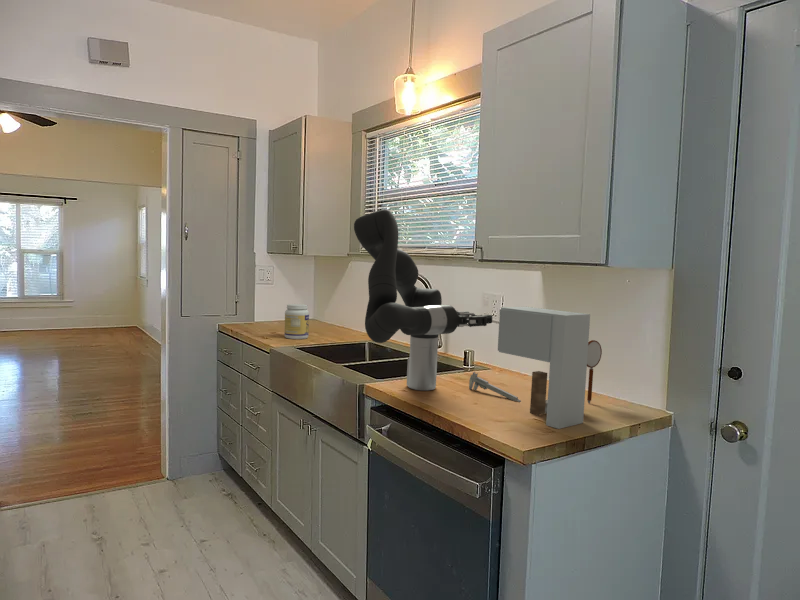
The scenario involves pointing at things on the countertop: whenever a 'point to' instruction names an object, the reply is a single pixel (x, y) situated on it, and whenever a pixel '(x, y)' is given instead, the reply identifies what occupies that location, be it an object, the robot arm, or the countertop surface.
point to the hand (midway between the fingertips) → (479, 317)
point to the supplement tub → (297, 321)
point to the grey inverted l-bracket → (551, 355)
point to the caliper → (489, 387)
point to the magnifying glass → (592, 362)
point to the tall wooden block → (538, 393)
